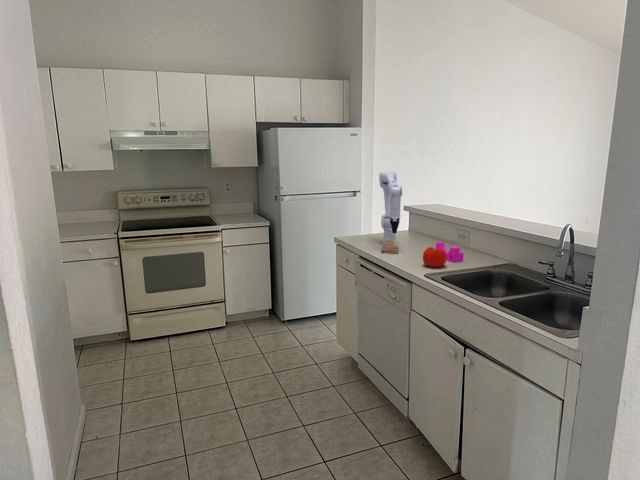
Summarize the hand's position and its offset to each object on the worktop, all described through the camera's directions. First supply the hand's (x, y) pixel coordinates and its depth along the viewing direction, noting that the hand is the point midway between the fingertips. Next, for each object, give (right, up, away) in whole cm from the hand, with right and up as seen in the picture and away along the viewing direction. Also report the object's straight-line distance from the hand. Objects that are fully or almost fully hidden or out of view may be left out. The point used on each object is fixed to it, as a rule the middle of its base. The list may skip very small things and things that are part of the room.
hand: (394, 231), depth 255 cm
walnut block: (-3, -12, -4) cm, 13 cm away
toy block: (+26, -15, -19) cm, 35 cm away
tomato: (+14, -18, -33) cm, 40 cm away
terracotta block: (-3, -9, -5) cm, 11 cm away
